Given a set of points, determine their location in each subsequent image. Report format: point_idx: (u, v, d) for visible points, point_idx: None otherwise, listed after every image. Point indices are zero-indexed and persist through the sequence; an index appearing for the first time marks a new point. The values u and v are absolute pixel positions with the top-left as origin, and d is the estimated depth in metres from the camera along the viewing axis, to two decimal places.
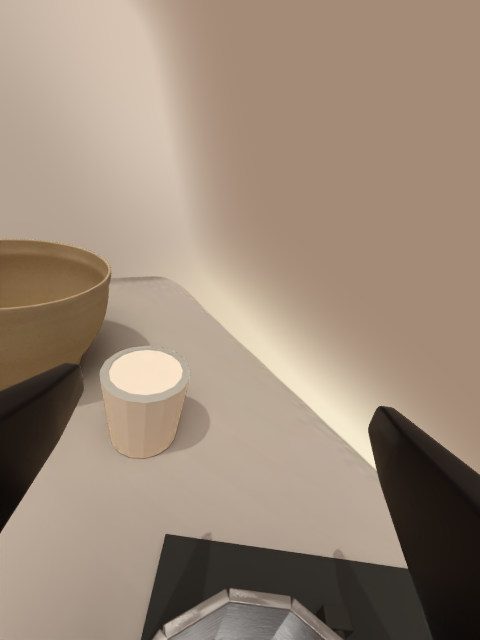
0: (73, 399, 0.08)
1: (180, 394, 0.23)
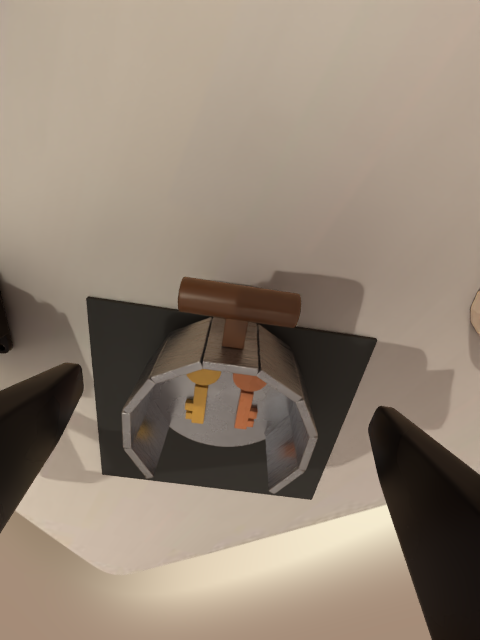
0: (73, 399, 0.08)
1: None
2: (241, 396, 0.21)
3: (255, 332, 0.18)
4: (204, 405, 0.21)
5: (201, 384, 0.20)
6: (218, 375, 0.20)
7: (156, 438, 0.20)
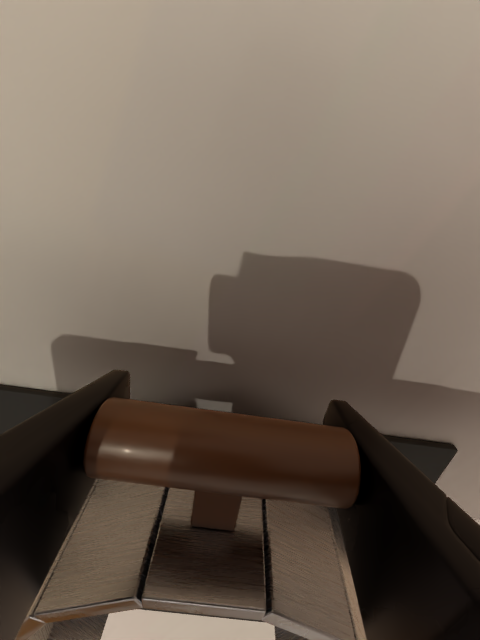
0: None
1: None
2: None
3: None
4: None
5: None
6: None
7: (91, 617, 0.12)
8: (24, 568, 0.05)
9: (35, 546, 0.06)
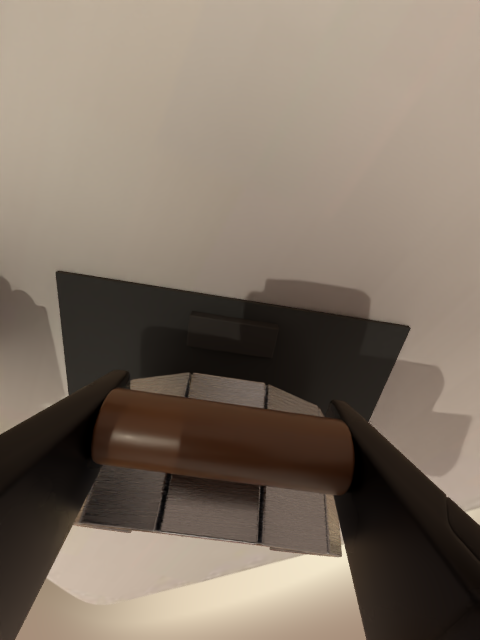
0: None
1: None
2: None
3: None
4: None
5: None
6: None
7: None
8: (24, 568, 0.05)
9: (35, 547, 0.06)
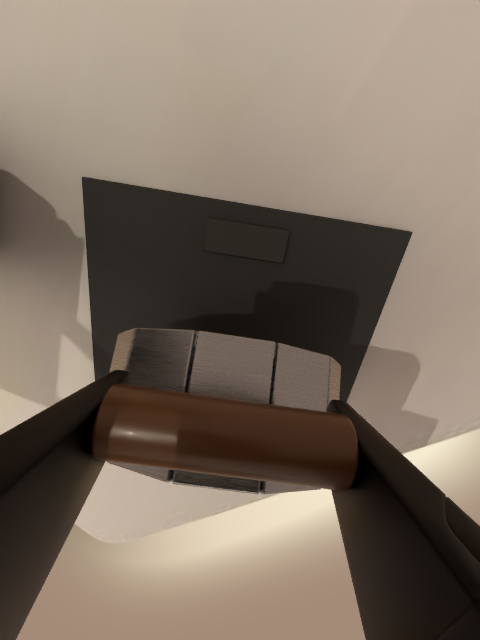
0: None
1: None
2: None
3: (268, 378, 0.10)
4: None
5: None
6: None
7: None
8: (25, 568, 0.05)
9: (36, 547, 0.06)
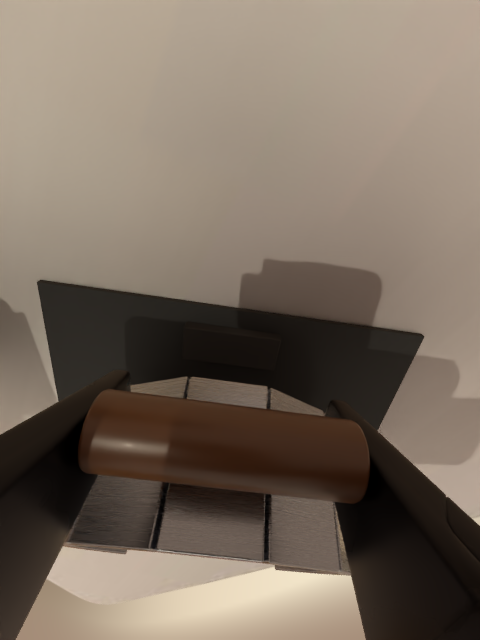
0: None
1: None
2: None
3: None
4: None
5: None
6: None
7: None
8: (25, 568, 0.05)
9: (35, 547, 0.06)
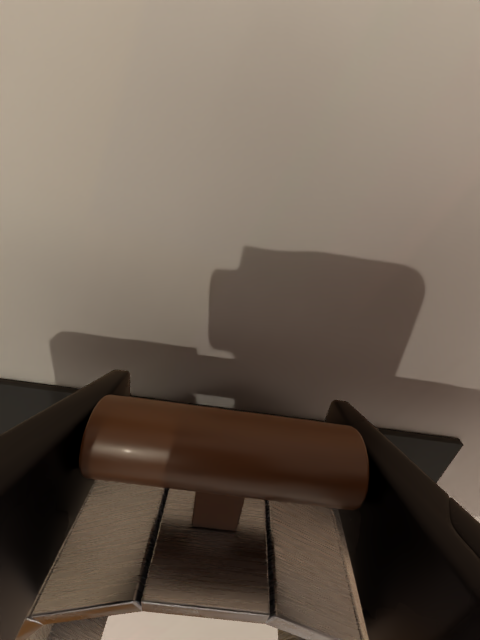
0: None
1: None
2: None
3: None
4: None
5: None
6: None
7: None
8: (24, 568, 0.05)
9: (35, 546, 0.06)
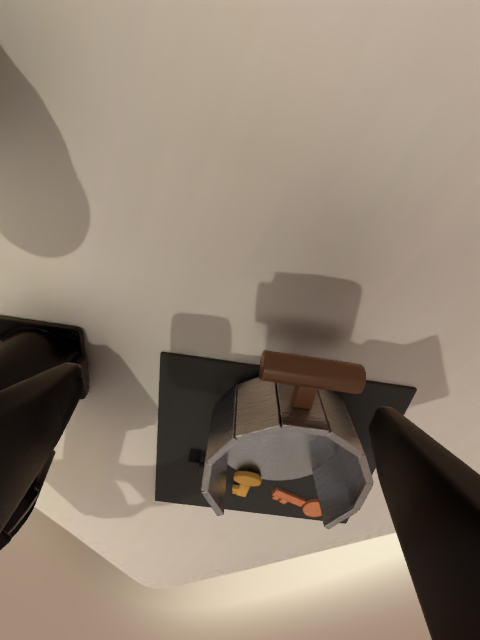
0: (73, 399, 0.08)
1: None
2: (303, 501, 0.29)
3: None
4: (247, 491, 0.28)
5: (245, 485, 0.26)
6: (258, 484, 0.26)
7: (221, 477, 0.23)
8: None
9: None
